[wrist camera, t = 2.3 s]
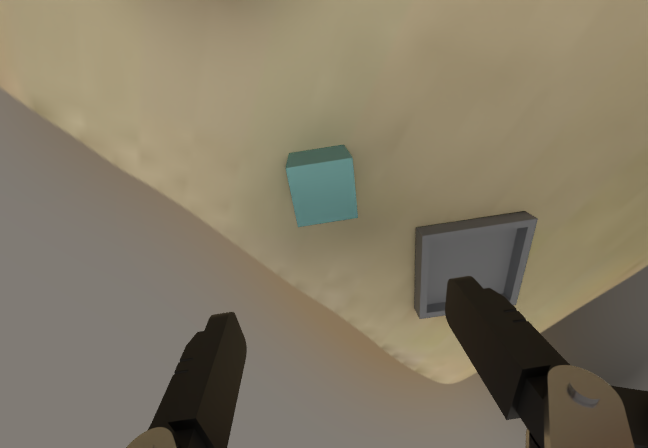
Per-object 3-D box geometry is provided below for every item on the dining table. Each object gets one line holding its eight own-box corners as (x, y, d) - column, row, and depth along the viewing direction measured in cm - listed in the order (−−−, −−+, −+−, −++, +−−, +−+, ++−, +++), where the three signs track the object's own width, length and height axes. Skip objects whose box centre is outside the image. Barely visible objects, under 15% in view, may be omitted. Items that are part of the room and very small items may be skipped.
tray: (524, 211, 29) (537, 218, 27) (506, 294, 34) (515, 304, 32) (415, 227, 29) (422, 235, 27) (414, 308, 34) (419, 319, 33)
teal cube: (343, 144, 24) (352, 157, 20) (349, 195, 27) (357, 217, 22) (289, 153, 25) (285, 168, 20) (299, 203, 27) (297, 227, 22)
